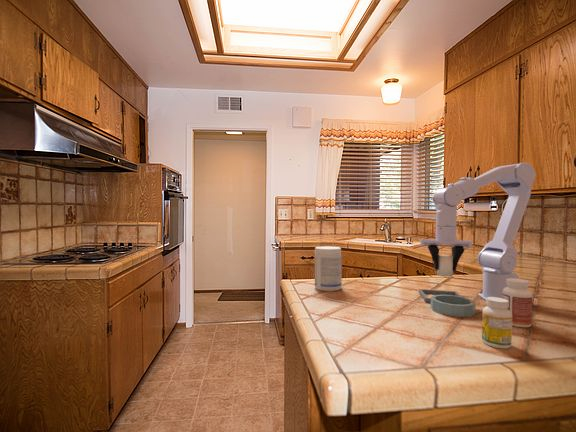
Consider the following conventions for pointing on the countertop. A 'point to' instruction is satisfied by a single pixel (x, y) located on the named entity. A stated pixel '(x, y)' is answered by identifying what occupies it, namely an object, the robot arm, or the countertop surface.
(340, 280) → the supplement tub
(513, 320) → the pill bottle
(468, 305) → the bowl
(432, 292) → the empty gray rectangular frame
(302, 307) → the countertop surface
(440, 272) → the pestle
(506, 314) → the supplement bottle
